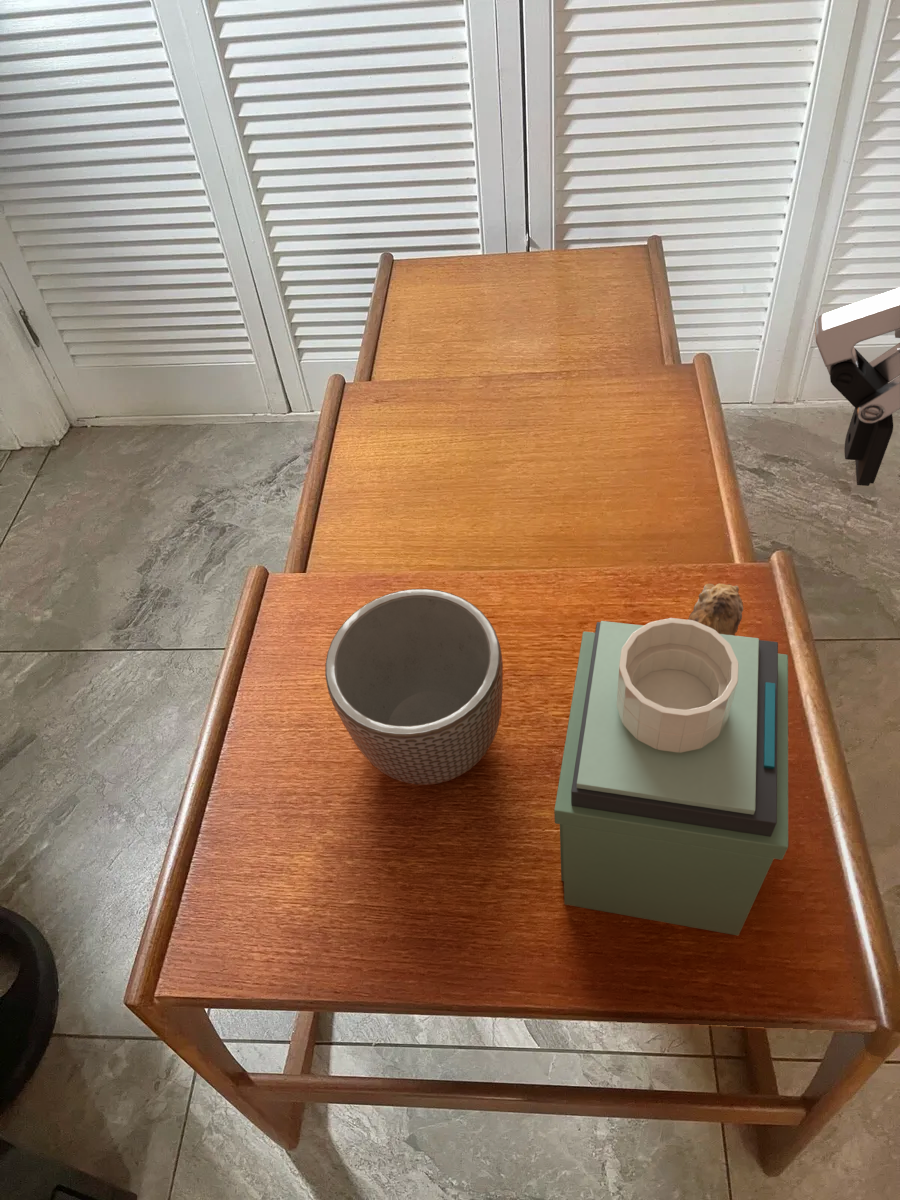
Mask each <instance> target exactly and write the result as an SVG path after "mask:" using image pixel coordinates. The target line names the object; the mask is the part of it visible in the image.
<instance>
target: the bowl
mask: <svg viewBox="0 0 900 1200" xmlns="http://www.w3.org/2000/svg"><path fill="white" fill-rule="evenodd" d="M738 666H739V663H738V660H737V658H736V656H735V654H734V652H733V649H732V647H731V645H730V644H729V643H728V642H727V641H726V640H725V639H724V638H723V637H722V636H721V635H720V634H719V633H718V632H717V631H715V630H714V629H712V628H710V627H708V626H705V625H703V624H701V623H699V622H696V621H693V620H688V619H684V618H676V617H669V618H664V619H659V620H654V621H650V622H648V623H646V624H645V625H644V626H643V627H641V628H640V629H638V630H637V631H635V632H633V633H632V634H631V636H630V637H629V639H628V640H627V642H626V643H625V645H624V646H623V648H622V650H621V657H620V664H619V676H618V690H617V704H616V705H617V709H618V712H619V715H620V718H621V721H622V723H623V725H624V726H625V727H626V728H627V729H628V730H629V731H630V733H631V734H632V735H633V736H634V737H635V738H636V739H638V740H639V741H641V742H643V743H645V744H647V745H649V746H651V747H652V748H654V749H657V750H663V751H670V752H677V753H678V752H680V753H682V752H686V751H691V750H696V749H700V748H702V747H704V746H705V745H707V744H708V743H710V742H711V741H713V740H714V739H716V738H717V737H718V736H719V734H720V733H721V731H722V729H723V727H724V726H725V724H726V722H727V720H728V716H729V713H730V709H731V705H732V702H733V698H734V694H735V691H736V687H737V683H738Z"/></svg>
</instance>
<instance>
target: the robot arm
mask: <svg viewBox="0 0 900 1200" xmlns="http://www.w3.org/2000/svg"><path fill="white" fill-rule="evenodd" d="M814 326H815V327H814V329H815V330H814V331H815V333H814V334H815V344H816V346H817V349H818V351H819V353H820V356H821V359H822V362H823V363H824V366H825V367H826V370H827V373H828V375H829V380H830V384H831V385H832V386H833V387H834V388H835V389H836V390H837V391H838V392H839V393H840V394H841V395H842V396H843V397H844V398H845V399H846V400H847V401H848V402H849V404H851V405H852V406H853V408H854V410H853V412H852V415H851V419H850V422H849V425H848V428H847V431H846V435H845V440H844V448H843V449H844V450H843V451H844V460H846V461H847V460H849V461H854V462H855V463H854V464H855V478H856V485H857V486H862V487H863V486H864V487H869V486H870V485H872V484H874V483H875V482H876V478H877V475H878V473H879V470H880V467H881V464H882V462H883V459H884V457H885V454H886V452H887V449H888V445H889V443H890V440H891V438H892V436H893V431H894V417H893V414H894V413H895V412H897V411H899V410H900V342H898V343H897V344H895V345H894V346H891V348H889V349H888V350H886V351H885V352H883V353H881V354H880V355H878V356H877V357H876V358H875V359H873V360H871V361H870V362H869V361H868V360H867V359H866V358H865V357H864V356H863V355H862V354H861V353H860V352H859V351H858V350H857V348H855V346H856V345H857V344H859V343H861V342H864V341H867V340H870V339H874V338H876V337H880V336H882V335H885V334H886V335H887V334H889V333H893V332H894V338H895V339H900V287H897V288H894V289H892V290H888V291H885V292H882V293H879V294H877V295H874V296H870V297H868V298H865V299H862V300H859V301H857V302H853V303H851V304H847V305H844V306H842V307H838V308H836V309H834V310H831V311H827V312H824V313H823V314H820V315H819V316H818V317H817V318H816V320H815V322H814Z"/></svg>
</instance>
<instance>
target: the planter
mask: <svg viewBox="0 0 900 1200" xmlns="http://www.w3.org/2000/svg"><path fill="white" fill-rule="evenodd" d="M342 623H343V624H342V625H340V627H339V629H338V630H337V631H336V633H335V635H334V637H333V638H332V640H331V642H330V645H329V647H328V650H327V654H326V659H325V665H324V667H325V669H324V670H325V671H324V675H325V676H324V677H325V682H326V687H327V692H328V695H329V698H330V700H331V703H332V705H333V707H334V709H335V712H336V713H337V715H338V716H339V718H340V720H341V722H342V724H343V726H344V728H345V730H346V732H347V733H348V735H349V736H350V738H351V739H352V741H353V742H354V744H355V746H356V747H357V749H358V750H359V751H360V753H361V754H362V755H363V756H364V757H365V758H366V760H368V762H369V763H370V764H371V765H372V766H373V767H375V768H376V769H377V770H379V772H381V773H383V775H386V776H388V777H389V778H392V779H394V780H396V781H399V782H402V783H406V784H412V785H419V786H420V785H424V786H425V785H436V784H442V783H445V782H449V781H451V780H454V779H456V778H458V777H460V776H462V775H464V774H465V773H467V772H468V771H470V770H471V769H472V768H473V767H475V766H476V765H477V764H478V763H480V761H481V760H482V759H483V757H484V756H486V754H487V753H488V751H489V749H490V748H491V747H492V744H493V743H494V740H495V737H496V735H497V733H498V729H499V725H500V721H501V720H500V719H501V716H502V708H503V707H502V705H503V692H504V691H503V689H504V686H503V684H504V683H503V682H504V681H503V679H504V676H503V675H504V674H503V672H504V670H503V669H504V662H503V655H502V647H501V643H500V641H499V638H498V634H497V632H496V630H495V628H494V627H493V625H492V623H491V621H490V620H489V618H488V617H487V616H486V615H485V614H484V613H483V611H482V610H481V609H479V608H478V607H477V606H476V605H475V604H473V603H472V602H471V601H468V600H467V599H465V598H464V597H462V596H459V595H457V594H454V593H452V592H448V591H443V590H439V589H433V588H411V589H402V590H398V591H395V592H390V593H386V594H384V595H382V596H380V597H379V596H378V597H377V598H375V599H373V600H371V601H369V602H368V603H366V604H364V605H363V606H361V607H360V608H358V609H357V610H356V611H354V612H353V613H352V614H351V615H350V616H348V618H347V619H346V620H345V621H344V622H342Z"/></svg>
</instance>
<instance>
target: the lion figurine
mask: <svg viewBox="0 0 900 1200" xmlns="http://www.w3.org/2000/svg"><path fill="white" fill-rule="evenodd" d="M739 591H740V588H739V585H732V584H725V583H717V584H715V585H714V583H705V585H703V589H702V592H700V593H699V594H698V599H697V601H696V602H695V604H694V606H693V610H692V612H691V613H690V614H689V617H688V618H687V620H693V621H696V622H699V623H701V624H703V625H705V626H708V627H710V628H712V629H714V630H715V631H717V632H718V633H719V634H725V635H734V636H736V633H737V632H738V630H739V625H740V624H741V621H742V619H743V612H744V602H743V599H742V597H741V596H740V593H739Z"/></svg>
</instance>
